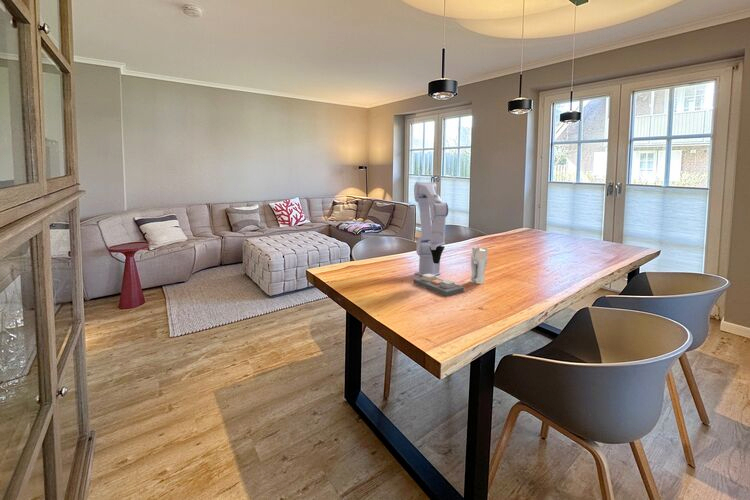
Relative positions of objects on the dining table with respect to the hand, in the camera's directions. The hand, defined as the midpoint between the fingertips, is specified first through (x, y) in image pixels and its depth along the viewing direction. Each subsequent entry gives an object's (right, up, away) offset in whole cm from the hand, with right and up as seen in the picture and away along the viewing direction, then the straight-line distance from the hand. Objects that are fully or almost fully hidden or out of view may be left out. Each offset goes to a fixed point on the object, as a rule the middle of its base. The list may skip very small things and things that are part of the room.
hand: (436, 263), depth 160 cm
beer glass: (+19, -9, +6) cm, 22 cm away
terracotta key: (0, -10, -3) cm, 10 cm away
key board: (0, -10, -3) cm, 11 cm away
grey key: (+3, -10, -7) cm, 13 cm away
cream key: (-3, -8, +2) cm, 8 cm away
